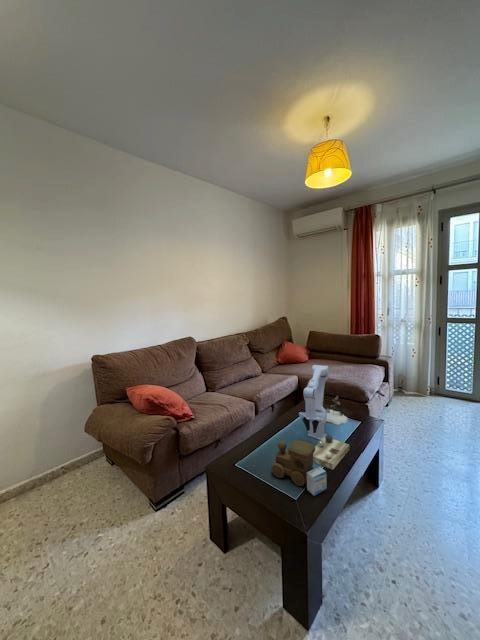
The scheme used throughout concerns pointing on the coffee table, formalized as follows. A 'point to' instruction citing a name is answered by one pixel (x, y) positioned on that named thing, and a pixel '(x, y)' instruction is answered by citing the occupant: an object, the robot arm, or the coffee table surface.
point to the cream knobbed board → (334, 448)
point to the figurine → (335, 415)
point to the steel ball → (320, 443)
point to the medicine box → (316, 481)
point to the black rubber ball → (328, 438)
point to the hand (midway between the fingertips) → (311, 431)
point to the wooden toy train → (294, 461)
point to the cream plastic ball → (328, 454)
